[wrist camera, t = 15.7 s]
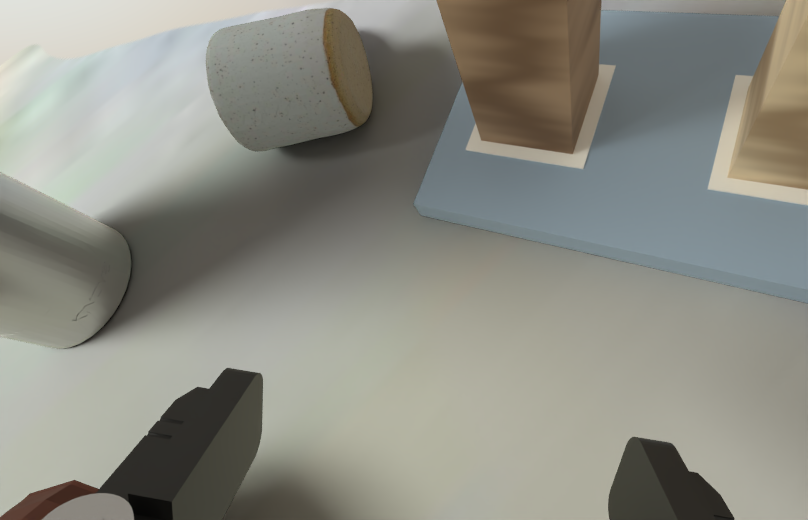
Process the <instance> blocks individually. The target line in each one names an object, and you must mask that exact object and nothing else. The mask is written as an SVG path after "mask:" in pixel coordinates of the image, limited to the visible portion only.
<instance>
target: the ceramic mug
mask: <svg viewBox="0 0 808 520" xmlns="http://www.w3.org/2000/svg"><path fill="white" fill-rule="evenodd" d="M206 70H207V79H208V86H209V89H210V93H211V96H212V99H213V101H214V104H215V106H216V109H217V111H218V114H219V116H220V118H221V119H222V121H223V123H224V124H225V126H226V127H227V128H228V130H229V131H230V133H231V134H232V136H233V137H234V138H235V139H236V140H237V141H238V142H239V143H240V144H241V145H243V146H244V147H246V148H248V149H249V150H253V151H267V150H270V149H274V148H277V147H282V146H288V145H292V144H297V143H301V142H305V141H309V140H313V139H317V138H321V137H327V136H333V135H337V134H341V133H344V132H348V131H350V130H353V129H355V128H357V127H359V126H361V125H362V124H364V123H365V122H366V120H367V119H368V117H369V115H370V113H371V109H372V103H373V99H372V96H373V91H372V81H371V75H370V70H369V65H368V60H367V56H366V53H365V49H364V46H363V43H362V40H361V38H360V35H359V33H358V31H357V29H356V27H355V25H354V23H353V21H352V20H351V19H350V18H349V17H348V16H347V15H346V14H345V13H343V12H342V11H340V10H338V9H332V8H324V9H311V10H305V11H300V12H296V13H292V14H288V15H284V16H280V17H276V18H270V19H265V20H260V21H255V22H250V23H245V24H241V25H236V26H231V27H227V28H223V29H220V30H218V31H217V32H216V33H215V34H213V36H212V37H211V39H210V41H209V45H208V47H207V53H206Z"/></svg>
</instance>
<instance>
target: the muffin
mask: <svg viewBox="0 0 808 520" xmlns="http://www.w3.org/2000/svg"><path fill="white" fill-rule="evenodd" d="M98 490H99V489H97V488H94V487H92V486H89V485H86V484H84V483H81V482H78V481H76V480H73V481H70V482H66V483H63V484H60V485H57V486H53V487H50V488H47V489H44V490H41V491H37V492H34V493H31V494H29V495H28V496H27V497H26V498H25V499H23V500H22V501H21V502H20V503H18V504H17V505H16V506H14V507H13V508H11V509H10V510H9V511H7V512H6V513H5V514H4V515H2V516H1V517H0V520H42V519H43V518H44V517H45V516H46V515H47V514H48V513H50V512H51V511H53V510H54V509H55V508H57V507H59V506H60V505H62V504H64V503H66V502H68V501H70V500H72V499H75V498H78V497H81V496H85V495H89V494H95V493H96V492H97V491H98Z"/></svg>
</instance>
